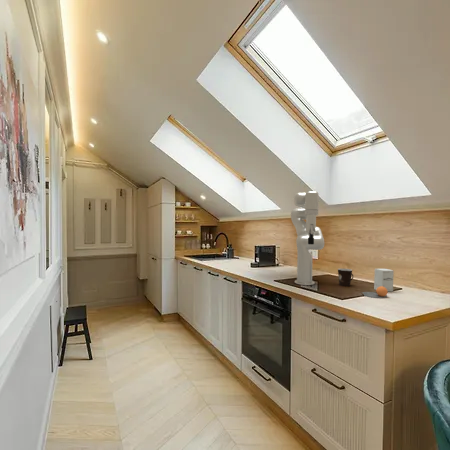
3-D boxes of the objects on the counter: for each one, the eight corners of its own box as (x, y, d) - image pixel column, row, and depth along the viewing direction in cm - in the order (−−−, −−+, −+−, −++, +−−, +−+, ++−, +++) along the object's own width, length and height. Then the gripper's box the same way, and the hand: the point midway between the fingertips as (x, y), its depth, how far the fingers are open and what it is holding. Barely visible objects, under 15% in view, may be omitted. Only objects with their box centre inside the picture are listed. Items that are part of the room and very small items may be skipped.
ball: (388, 290, 161) (381, 297, 162) (380, 283, 163) (373, 290, 164) (390, 292, 156) (383, 299, 157) (382, 285, 157) (374, 292, 158)
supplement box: (382, 292, 170) (382, 270, 170) (373, 289, 178) (374, 268, 177) (393, 291, 171) (394, 270, 171) (384, 288, 179) (385, 268, 179)
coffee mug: (336, 283, 193) (336, 268, 193) (350, 284, 191) (350, 268, 191) (339, 287, 182) (339, 271, 181) (354, 288, 180) (354, 271, 180)
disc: (358, 291, 170) (358, 291, 170) (382, 293, 168) (382, 292, 168) (364, 297, 158) (364, 296, 158) (390, 298, 155) (390, 298, 155)
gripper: (304, 213, 179) (303, 243, 179) (305, 212, 164) (305, 245, 165) (316, 213, 178) (316, 243, 178) (319, 212, 163) (318, 245, 163)
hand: (310, 244), depth 171 cm, fingers closed
